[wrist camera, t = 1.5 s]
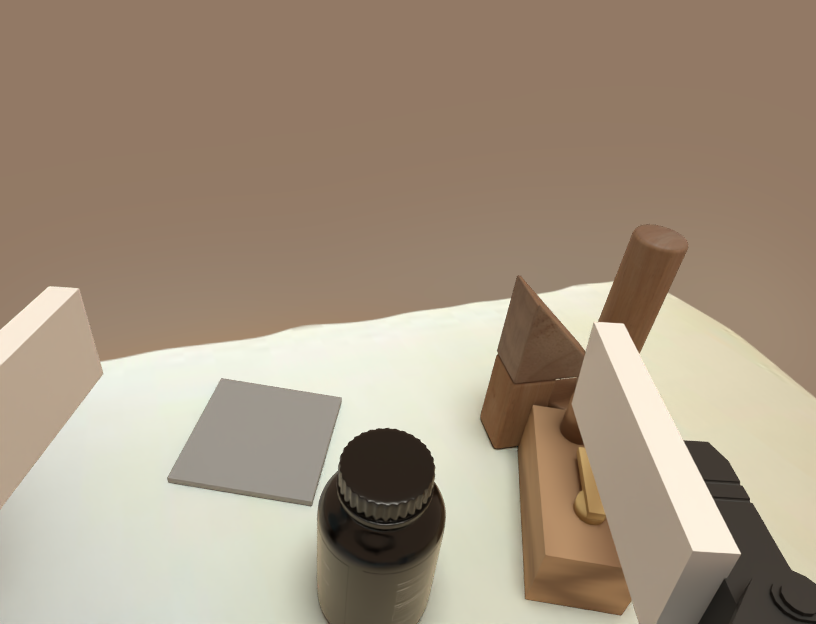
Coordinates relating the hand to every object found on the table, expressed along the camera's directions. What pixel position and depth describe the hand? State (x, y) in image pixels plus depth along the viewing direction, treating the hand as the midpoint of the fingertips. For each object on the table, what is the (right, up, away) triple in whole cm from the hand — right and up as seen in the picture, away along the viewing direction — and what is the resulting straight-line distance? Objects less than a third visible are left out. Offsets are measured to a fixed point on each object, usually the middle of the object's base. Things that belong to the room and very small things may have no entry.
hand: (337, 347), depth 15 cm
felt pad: (-9, -9, +29) cm, 31 cm away
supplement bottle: (0, -16, +21) cm, 26 cm away
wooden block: (+13, -9, +33) cm, 37 cm away
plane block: (+13, -14, +26) cm, 32 cm away
